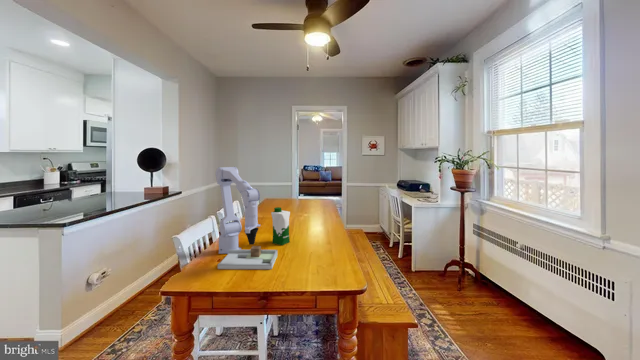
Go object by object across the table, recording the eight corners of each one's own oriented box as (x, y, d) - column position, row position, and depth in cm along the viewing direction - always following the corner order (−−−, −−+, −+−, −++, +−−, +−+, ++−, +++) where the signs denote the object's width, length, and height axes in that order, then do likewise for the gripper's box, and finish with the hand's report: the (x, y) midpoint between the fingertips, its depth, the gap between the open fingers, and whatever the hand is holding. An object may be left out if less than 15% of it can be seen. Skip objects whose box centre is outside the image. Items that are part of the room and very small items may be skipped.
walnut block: (250, 256, 134) (250, 248, 134) (252, 253, 138) (252, 246, 138) (259, 257, 134) (258, 248, 134) (260, 253, 138) (260, 246, 138)
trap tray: (217, 268, 124) (217, 262, 124) (229, 255, 140) (229, 249, 140) (271, 269, 124) (271, 262, 124) (277, 255, 140) (277, 249, 140)
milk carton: (280, 239, 166) (279, 206, 164) (292, 242, 161) (291, 207, 159) (270, 243, 158) (269, 208, 156) (282, 246, 154) (282, 210, 152)
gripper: (256, 219, 121) (256, 249, 122) (263, 211, 135) (263, 239, 137) (240, 219, 121) (240, 249, 122) (248, 211, 135) (249, 239, 137)
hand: (251, 244), depth 130 cm, fingers closed
